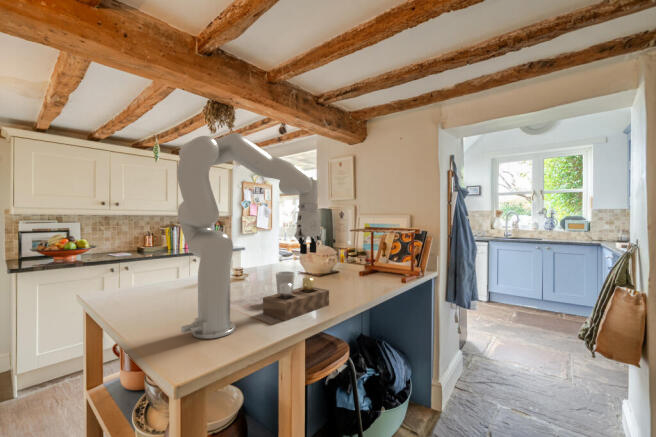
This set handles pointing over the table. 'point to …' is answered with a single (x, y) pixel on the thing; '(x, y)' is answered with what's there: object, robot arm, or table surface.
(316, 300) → the walnut block
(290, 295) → the steel peg
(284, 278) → the cup
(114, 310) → the table surface
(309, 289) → the brass peg
